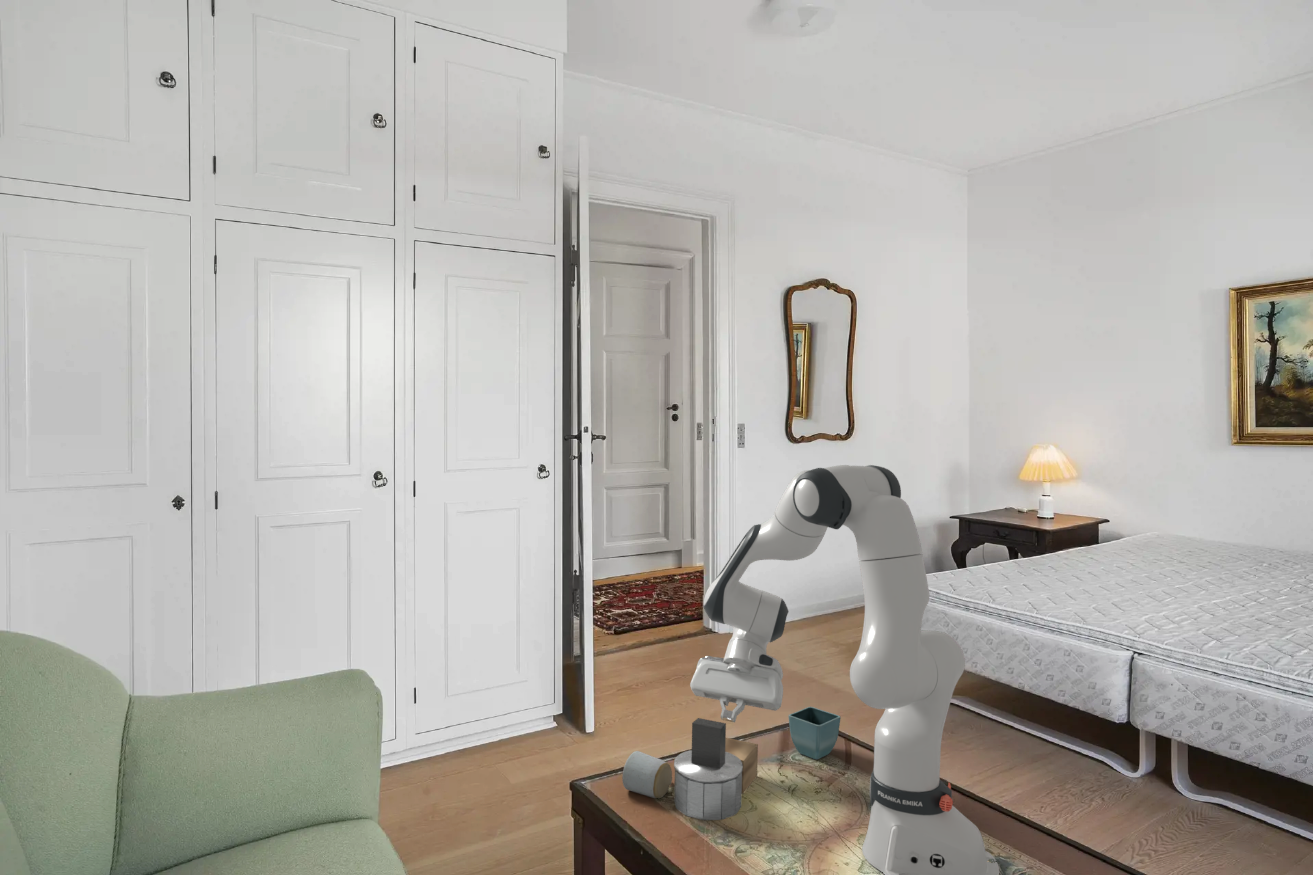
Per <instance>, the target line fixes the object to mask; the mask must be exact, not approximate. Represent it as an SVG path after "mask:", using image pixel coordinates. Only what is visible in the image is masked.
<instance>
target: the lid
mask: <svg viewBox="0 0 1313 875" xmlns="http://www.w3.org/2000/svg"><path fill="white" fill-rule="evenodd" d="M726 728H727V722H721V721H716V720H710V719H705V718H700V717H697V718H696V719H695V720H694V721H693V722H691V750H685V751H684V752H681V753H680V754H677V756H676V757H674V761H673V768H674V771H675V770H676V772H677V773H678V774H680V775H681V776H683V777H685V778H687V779H690V780H693V781H698V782H704V783H719V782H726V781H730V780H732V779H735V778H737V777H738V776H739V775H740V774H741V773H742V769H743V764H742V762H741V760H740V759H739V758H738V757H736V756H735V755H733V754H731V753H728V752H725V743H726V738H727V735H726V732H727V729H726Z"/></svg>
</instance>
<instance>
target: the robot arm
mask: <svg viewBox="0 0 1313 875" xmlns="http://www.w3.org/2000/svg"><path fill="white" fill-rule="evenodd" d="M901 497H902V489H901V484H900V482H899V480H898V478H897V476H896V474H894V472H892V471H891V470H890V469H889V468H885V467H883V466H879V465H873V464H872V465H871V464H868V465H850V464H843V465H841V464H840V465H835V466H834V465H833V466H828V467H816V468H813V469H810V470H809V469H807V470H803V471H799V472H798V473H797V474H795V475H794V476H793V478H792V479H791V480H790V482H789V483H788V485H787V487H786V488H785V490H784V492H783V493H782V495H781V497H780V499H779V501H778V503H777V506H776V508H775V511H774V512H773V514H772V516H771V517H769V518H768V519H767V520H766V521H764V522H763V523H760V524H754V525H752V527H751V528H750V529H749V530H748V531H747V532H746V534H745V535H744V536H743V537H742V539H741V541H739V544H738V545H737V546H736V548H735V549H734V551H733V553H732V554H731V555H730V557H729V558H728V560H727V562H726V563H725V565H724V567H723V568H722V570H721V571H720V572H719V574H718V575H717V576H716V578H715V579H714V580H713V581H712V582H711V584H710V585H709V586H708V588H707V591H706V592H705V595H704V598H703V609H704V611H705V613H706V615H707V616H708V618H709V620H710V621H711V622H715V623H718V624H723V625H727V626H729V627H732V636H731V638H730V639H729V641H728V644H727V647H726V649H725V650H726V651H725V654H724V657H719V656H711V655H705V657H704V656H703V657H701V658H700V659H699V660H698V661H697V665H696V669H695V672H694V673H693V676H692V678H691V681H690V683H689V686H690V689H691V691H692V693H693V694H694V696H696V697H702V698H707V699H711V700H716V701H719V703H720V707H721V713H720V719H721V721H725V722H731V723H736V720H737V718H738V716H739V715H740V713H742V712H743V711H744V710H745V708H746V706H747V707H749V706H750V707H755V708H759V709H764V710H765V709H766V710H771V711H778V710H779V709H780V708H781V707H782V703H783V698H784V697H783V696H784V685H783V682H782V680H783V677H784V672H783V667H782V666H781V664H780V662H779V660H778V659H777V658H775V657H773V656H771V655H769V654H767V647H768V644H769V643H773V642H775V641H777V640H779V639H780V638H781V637H782V636H783V635H784V631H785V626H786V622H787V618H788V614H789V609H788V606H787V603H786V602H785V600H784V599H783V598H782V597H780V596H778V595H775V594H773V593H770V592H768V591H765V590H761V589H758V588H755V587H753V586H751V585H747V584H744V583H743V582H740V580H741V579H742V577H743V575H744V574H745V572H747V571H746V570H747V569H748V568H749V567H750V565H752V563H755V562H759V561H766V560H770V561H771V560H774V561H776V560H777V561H787V562H788V561H798V560H802V559H805V558H807V557H809V556H810V555H812V554H813V553H815V552H816V550H817V549H818V547H819V546H820V544H821V542H822V540H823V538H824V536H825V534H826V532H827V530H828V528H829V529H833V530H839V529H840V528H841V527H842V526H844V527H847V528H848V529H849V530H850V531H851V532H852V533H853V535H854V538H855V541H856V547H857V556H858V563H859V568H860V576H861V583H862V589H863V590H862V591H863V597H864V598H863V599H864V617H863V618H864V619H863V625H862V627H863V628H862V634H861V638H860V640H861V641H860V644H859V648H858V650H857V652H856V655H855V657H854V658H853V659H852V661H851V665H850V667H849V680H850V681H849V682H850V684H851V687H852V689H853V691H854V693H855V695H856V696H857V698H858V699H859V700H860V701H861V702H862V703H864V704H865V705H866V706H868V707H870V708H872V709H876V710H877V709H878V710H884V711H883V714H882V715H881V717H880V719H879V721H878V722H877V724H876V726H875V729H874V741H873V742H874V744H873V745H874V746H873V769H872V772H871V774H870V781H869V800H870V805H871V808H870V816H869V821H868V826H867V832H866V835H865V838H864V841H863V844H862V847H861V852H862V855H863V857H864V858H865V860H866V861H867V862H868V863H869V864H870V865H871V866H873V867H874V868H875V869H876V870H878V871H880V873H882V872H883V873H882V874H885V875H999V873H1000V868H999V864H998V861H997V859H996V858H995V857H994V856H993V854H992V853H990V852H989V851H986V846H985V842H984V838H983V836H982V832H981V831H980V830H979V828H978V826H977V825H976V824H975V823H974V822H972V821H971V820H970V819H969V818H967V817H966V816H965V815H964V814H963V813H962V812H961V811H959V809H957V808H956V807H955V806H954V805H953V803H954V801H953V792H952V785H951V783H950V782H948V784H946V783H945V782H944V781H942V780H941V779H940V776H941V775H940V774H941V773H940V772H941V752H942V751H941V748H942V737H943V733H944V727H945V725H946V724H945V723H946V719H947V715H948V711H949V708H950V705H951V700H952V697H953V694H954V692H955V689H956V685H957V684H958V682H959V680H960V678H961V677H962V675H963V674H964V670H965V668H966V659H965V654H964V651H963V648H962V647H961V645H960V644H959V642H958V641H957V640H956V639H955V638H954V637H953V636H951V635H950V634H949V633H946V632H943V631H938V630H937V631H936V630H922V624H923V617H924V613H925V611H926V608H927V606H928V604H929V601H930V590H929V583H928V577H927V571H926V567H925V560H924V554H923V549H922V543H921V541H920V536H919V531H918V529H917V528H918V527H917V526H916V522H915V519H914V516H913V515H912V512H911V509H910V507H909V505H908V504H907V502H906V501H905V499H902V498H901ZM730 703H732V704H736V706H735V708H734V709H732V710H730V709H729V710H728V709H727V707H728V706H729V704H730ZM989 859H994V861H997V862H995V863H994V862H993V863H990V862H987V861H988V860H989ZM992 861H993V860H992Z"/></svg>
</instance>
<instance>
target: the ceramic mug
mask: <svg viewBox="0 0 1313 875" xmlns="http://www.w3.org/2000/svg"><path fill="white" fill-rule="evenodd" d="M621 778H622V784H623V787H624V789H625V790H628V791H630V792H633V793H636V794H640V795H644V796H646V797H650V798H653V799H661V798H662V797H664V796H665V795H666V794H667V792H669V789H670V787H671V785H672V780H673V771H672V767H671V765H670V764H669V763H668V762H667V761H665V760H663V759H661V758H657V757H656V756H655V757H654V756H652V755H650V754H647V753H644V752H642V751H639V750H635V751H633V752H632V753H630V754H629V756H628V758H627V759H626V761H625V764H624V766H623V771H622V777H621Z"/></svg>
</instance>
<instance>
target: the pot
mask: <svg viewBox="0 0 1313 875" xmlns="http://www.w3.org/2000/svg"><path fill="white" fill-rule="evenodd" d="M673 788H674V791H673V793H674V796H673V797H674V798H673V800H674V806H675V809H677V811H679V812H680V813H682V814H683V815H685V816H686V817H689V818H694V819H697V820H700V821H721V820H725V819H728V818H731V817H733V816H736V814H737V813H738V812H739V811H740V809H741V808H742V795H743V794H742V773H741V774H740V775H739V776H738V777H737V778H735V779H732V780H730V781H726V782H719V783H704V782H698V781H693V780H690V779H687V778H685V777H683V776H681V775H680V774H678V773H677V772H676V770H675V769H674V787H673Z"/></svg>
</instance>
